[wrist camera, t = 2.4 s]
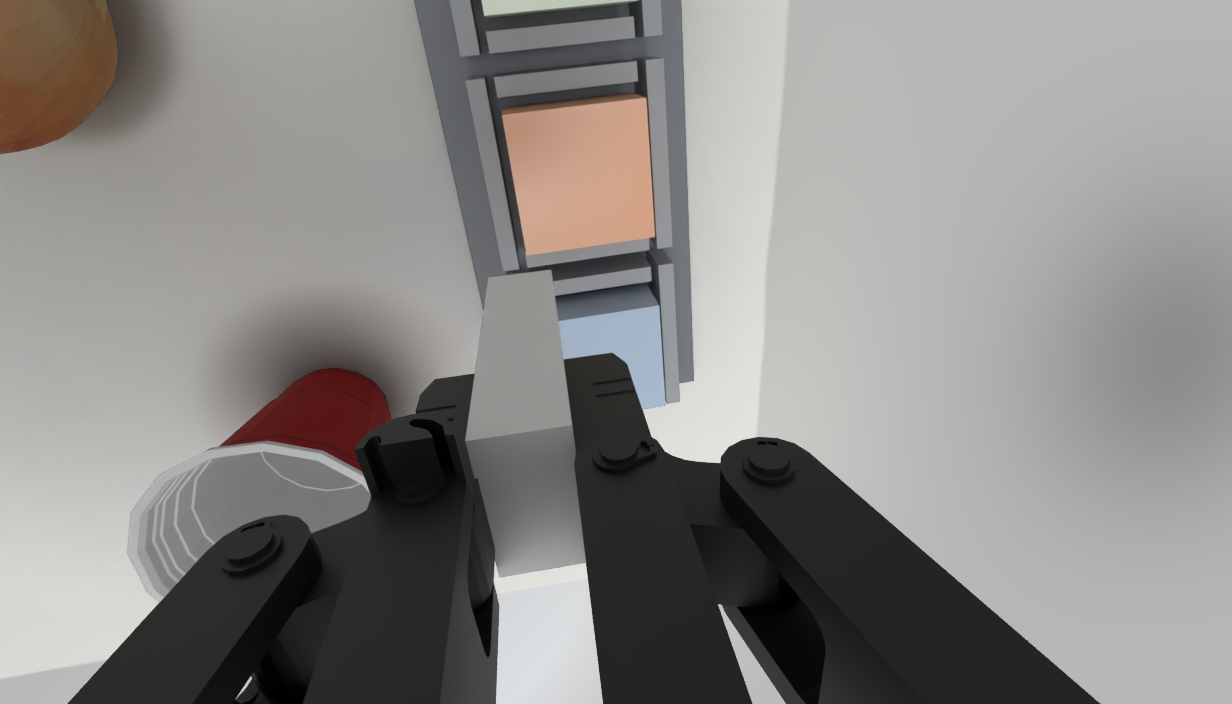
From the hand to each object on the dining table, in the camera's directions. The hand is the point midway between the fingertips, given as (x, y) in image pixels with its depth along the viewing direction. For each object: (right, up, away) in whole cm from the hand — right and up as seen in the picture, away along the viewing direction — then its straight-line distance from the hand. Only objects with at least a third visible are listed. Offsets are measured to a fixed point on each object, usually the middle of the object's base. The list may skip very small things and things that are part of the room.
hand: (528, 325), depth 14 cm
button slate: (+1, 0, +18) cm, 18 cm away
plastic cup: (-15, -4, +21) cm, 26 cm away
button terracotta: (0, +8, +14) cm, 16 cm away
